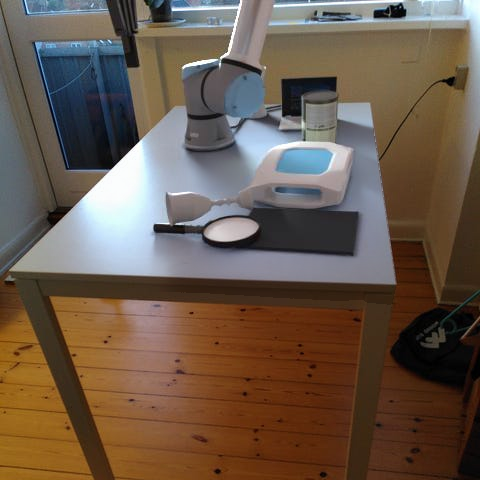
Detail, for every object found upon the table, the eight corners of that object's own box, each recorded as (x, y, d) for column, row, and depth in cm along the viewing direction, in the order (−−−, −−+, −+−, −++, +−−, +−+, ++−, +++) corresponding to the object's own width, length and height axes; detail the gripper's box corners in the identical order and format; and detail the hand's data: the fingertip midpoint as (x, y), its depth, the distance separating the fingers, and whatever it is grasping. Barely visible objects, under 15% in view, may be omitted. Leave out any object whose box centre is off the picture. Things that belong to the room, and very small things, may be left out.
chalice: (245, 175, 113) (164, 185, 108) (255, 191, 108) (171, 202, 104) (244, 205, 118) (166, 215, 113) (253, 221, 113) (173, 232, 109)
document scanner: (352, 165, 137) (354, 141, 133) (339, 211, 116) (341, 184, 112) (275, 162, 142) (274, 140, 139) (249, 206, 121) (248, 180, 117)
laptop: (278, 131, 164) (277, 87, 156) (281, 119, 174) (280, 78, 166) (335, 130, 161) (337, 85, 154) (335, 118, 171) (337, 75, 163)
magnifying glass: (167, 219, 119) (165, 211, 117) (267, 223, 111) (266, 214, 110) (143, 245, 109) (141, 236, 108) (251, 251, 102) (250, 242, 101)
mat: (253, 210, 119) (252, 207, 119) (358, 214, 114) (358, 211, 113) (234, 248, 106) (234, 245, 105) (353, 255, 100) (353, 252, 100)
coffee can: (294, 145, 153) (293, 95, 144) (320, 137, 157) (322, 88, 148) (316, 154, 145) (317, 102, 137) (344, 145, 150) (346, 94, 141)
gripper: (108, -59, 111) (129, 61, 125) (79, -56, 101) (106, 74, 115) (140, -62, 109) (158, 60, 124) (114, -59, 99) (137, 73, 114)
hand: (133, 67), depth 119 cm, fingers closed
